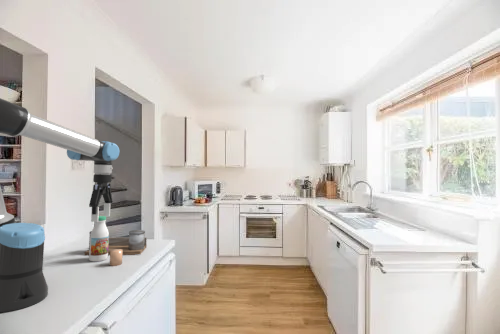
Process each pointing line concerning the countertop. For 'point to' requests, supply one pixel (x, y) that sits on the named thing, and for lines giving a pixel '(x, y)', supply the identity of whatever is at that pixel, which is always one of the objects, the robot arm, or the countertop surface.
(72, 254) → the countertop surface
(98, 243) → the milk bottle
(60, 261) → the countertop surface
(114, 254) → the peach rounded cylinder
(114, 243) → the rack
